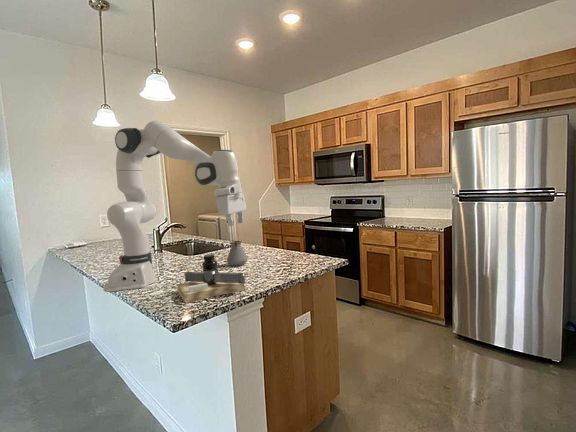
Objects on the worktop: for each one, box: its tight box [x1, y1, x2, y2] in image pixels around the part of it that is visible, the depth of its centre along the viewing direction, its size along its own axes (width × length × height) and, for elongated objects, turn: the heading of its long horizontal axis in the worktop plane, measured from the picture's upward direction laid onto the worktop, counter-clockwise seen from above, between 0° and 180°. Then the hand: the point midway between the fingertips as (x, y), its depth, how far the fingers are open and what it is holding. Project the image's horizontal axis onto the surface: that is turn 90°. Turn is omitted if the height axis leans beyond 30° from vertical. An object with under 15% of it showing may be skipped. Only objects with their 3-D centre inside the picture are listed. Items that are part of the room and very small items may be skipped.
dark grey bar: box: [184, 270, 246, 285], centre depth 135 cm, size 28×5×5 cm, turn 73°
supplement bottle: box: [201, 254, 219, 273], centre depth 150 cm, size 7×7×12 cm
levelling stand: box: [177, 281, 246, 303], centre depth 135 cm, size 24×16×5 cm, turn 118°
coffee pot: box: [226, 240, 249, 267], centre depth 175 cm, size 21×12×15 cm, turn 9°
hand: (236, 224), depth 129 cm, fingers open, 8 cm apart
